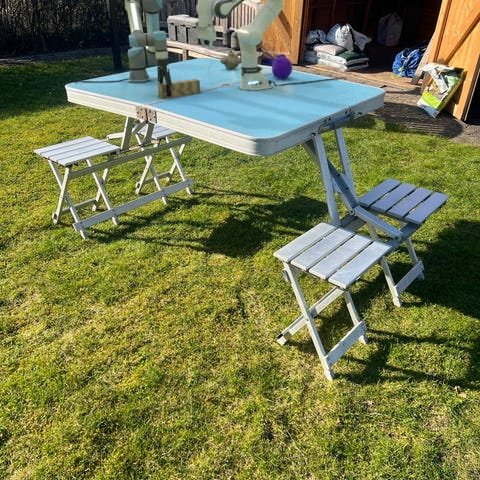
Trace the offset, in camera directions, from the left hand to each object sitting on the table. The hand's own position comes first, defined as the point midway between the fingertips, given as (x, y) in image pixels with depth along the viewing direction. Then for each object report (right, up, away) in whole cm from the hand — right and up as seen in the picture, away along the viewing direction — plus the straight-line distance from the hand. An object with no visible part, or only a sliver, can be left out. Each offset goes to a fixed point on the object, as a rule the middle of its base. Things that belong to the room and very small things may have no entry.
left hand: (165, 95), depth 292 cm
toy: (+77, +29, +49) cm, 96 cm away
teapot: (+42, +48, +83) cm, 105 cm away
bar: (+8, +2, +5) cm, 10 cm away
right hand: (+27, +30, -2) cm, 41 cm away
